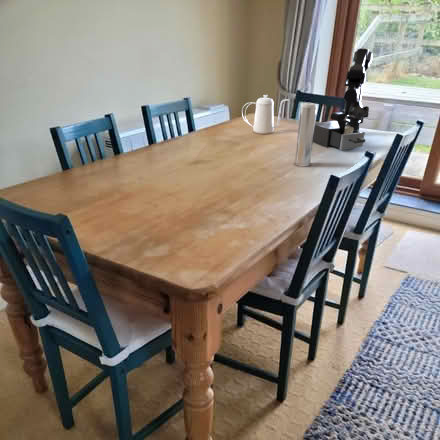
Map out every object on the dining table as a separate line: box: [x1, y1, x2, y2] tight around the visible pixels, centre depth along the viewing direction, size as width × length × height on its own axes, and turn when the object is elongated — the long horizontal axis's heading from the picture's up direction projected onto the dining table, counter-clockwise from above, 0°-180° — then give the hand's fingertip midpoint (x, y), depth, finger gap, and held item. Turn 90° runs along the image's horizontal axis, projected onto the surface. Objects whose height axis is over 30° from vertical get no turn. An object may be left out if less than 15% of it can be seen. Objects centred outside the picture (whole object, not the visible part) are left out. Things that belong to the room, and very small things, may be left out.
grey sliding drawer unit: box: [313, 120, 350, 148], centre depth 228 cm, size 14×15×9 cm
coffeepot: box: [241, 94, 290, 135], centre depth 242 cm, size 11×25×19 cm, turn 84°
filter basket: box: [342, 127, 354, 135], centre depth 218 cm, size 5×5×4 cm
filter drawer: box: [328, 129, 366, 151], centre depth 219 cm, size 17×13×7 cm
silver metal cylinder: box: [294, 102, 317, 167], centre depth 192 cm, size 6×6×25 cm
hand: (346, 133), depth 218 cm, fingers closed on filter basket, 5 cm apart
